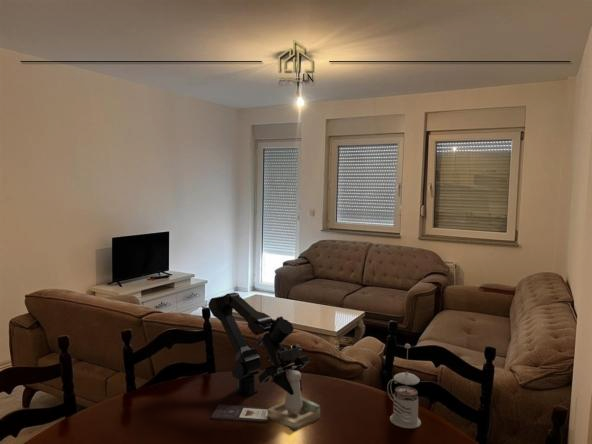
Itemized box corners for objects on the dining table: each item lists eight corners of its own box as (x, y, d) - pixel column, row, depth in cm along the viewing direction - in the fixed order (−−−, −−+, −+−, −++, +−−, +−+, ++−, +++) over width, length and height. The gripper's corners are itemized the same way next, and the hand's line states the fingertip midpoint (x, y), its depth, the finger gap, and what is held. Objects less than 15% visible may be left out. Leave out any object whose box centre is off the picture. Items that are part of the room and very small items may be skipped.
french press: (409, 431, 131) (412, 351, 130) (379, 417, 139) (381, 341, 138) (427, 421, 137) (429, 344, 136) (396, 407, 146) (399, 335, 145)
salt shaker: (285, 416, 135) (286, 376, 134) (283, 407, 140) (284, 368, 140) (304, 415, 136) (305, 375, 135) (300, 406, 142) (301, 367, 141)
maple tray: (267, 416, 138) (267, 404, 138) (293, 404, 147) (294, 393, 146) (293, 431, 130) (293, 418, 130) (319, 417, 138) (320, 405, 138)
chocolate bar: (218, 404, 145) (270, 407, 143) (218, 407, 145) (270, 410, 143) (210, 417, 136) (266, 421, 134) (210, 420, 136) (266, 424, 134)
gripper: (265, 343, 133) (288, 390, 126) (306, 331, 146) (329, 373, 139) (248, 361, 139) (270, 406, 132) (289, 348, 152) (311, 388, 145)
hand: (296, 392), depth 137 cm, fingers closed on salt shaker, 3 cm apart
